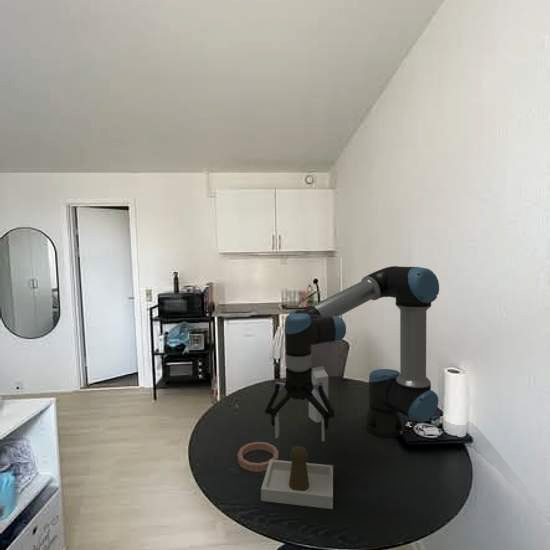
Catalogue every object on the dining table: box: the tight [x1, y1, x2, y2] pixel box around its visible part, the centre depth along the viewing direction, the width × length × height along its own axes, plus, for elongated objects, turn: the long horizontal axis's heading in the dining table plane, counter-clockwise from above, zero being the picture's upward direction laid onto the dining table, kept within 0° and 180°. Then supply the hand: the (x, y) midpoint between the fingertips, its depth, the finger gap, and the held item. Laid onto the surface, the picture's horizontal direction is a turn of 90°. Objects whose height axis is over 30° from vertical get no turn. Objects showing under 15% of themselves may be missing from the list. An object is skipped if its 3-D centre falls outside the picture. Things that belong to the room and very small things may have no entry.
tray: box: [260, 458, 334, 510], centre depth 102 cm, size 20×14×4 cm
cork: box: [289, 446, 309, 491], centre depth 102 cm, size 6×6×11 cm
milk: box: [308, 365, 329, 424], centre depth 144 cm, size 6×6×22 cm
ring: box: [237, 441, 279, 473], centre depth 116 cm, size 13×13×2 cm
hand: (300, 437), depth 101 cm, fingers open, 13 cm apart
